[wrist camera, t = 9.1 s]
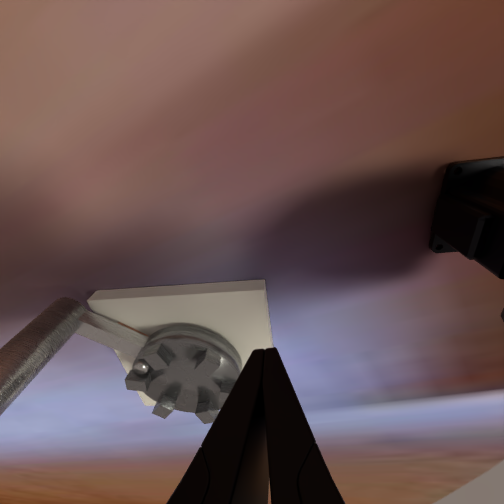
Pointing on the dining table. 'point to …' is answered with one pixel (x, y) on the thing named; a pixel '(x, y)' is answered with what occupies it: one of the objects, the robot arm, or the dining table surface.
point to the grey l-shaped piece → (133, 344)
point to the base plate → (191, 313)
